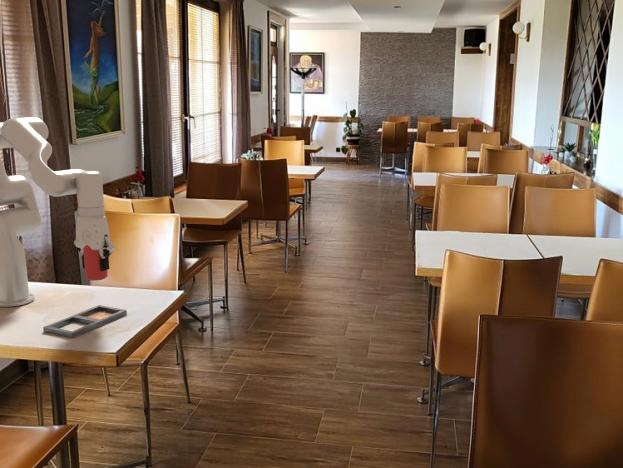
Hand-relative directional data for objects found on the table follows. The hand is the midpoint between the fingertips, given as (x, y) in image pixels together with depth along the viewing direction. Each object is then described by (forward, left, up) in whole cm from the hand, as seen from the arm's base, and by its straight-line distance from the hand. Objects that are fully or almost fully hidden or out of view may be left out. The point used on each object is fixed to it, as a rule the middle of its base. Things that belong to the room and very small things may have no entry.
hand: (96, 268), depth 196 cm
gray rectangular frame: (0, -6, -16) cm, 17 cm away
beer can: (0, 0, -3) cm, 3 cm away
